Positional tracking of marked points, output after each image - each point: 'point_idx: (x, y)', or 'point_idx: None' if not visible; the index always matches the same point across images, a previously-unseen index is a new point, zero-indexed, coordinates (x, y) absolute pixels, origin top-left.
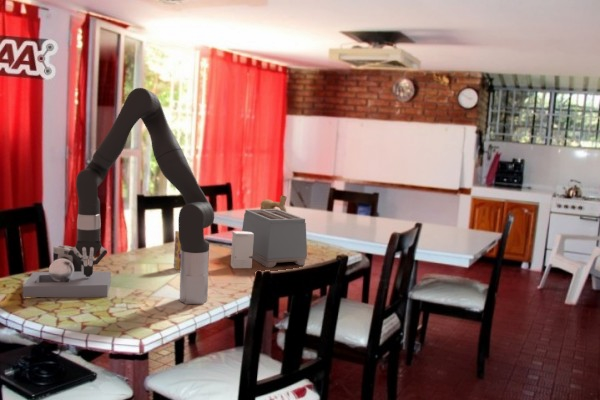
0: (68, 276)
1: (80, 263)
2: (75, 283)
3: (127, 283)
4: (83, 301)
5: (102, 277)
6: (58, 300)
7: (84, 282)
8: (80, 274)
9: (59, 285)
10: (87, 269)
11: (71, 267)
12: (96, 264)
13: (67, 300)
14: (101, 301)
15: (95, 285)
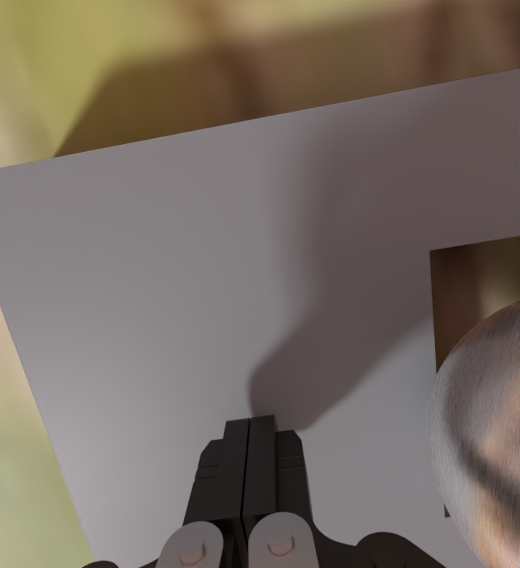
0: (465, 339)
1: (374, 551)
2: (336, 206)
3: (28, 523)
4: (194, 7)
5: (123, 457)
6: (430, 15)
7: (246, 259)
8: (364, 532)
9: (511, 91)
10: (251, 478)
11: (499, 451)
12: (95, 563)
13: (347, 24)
14: (35, 26)
15: (84, 153)
